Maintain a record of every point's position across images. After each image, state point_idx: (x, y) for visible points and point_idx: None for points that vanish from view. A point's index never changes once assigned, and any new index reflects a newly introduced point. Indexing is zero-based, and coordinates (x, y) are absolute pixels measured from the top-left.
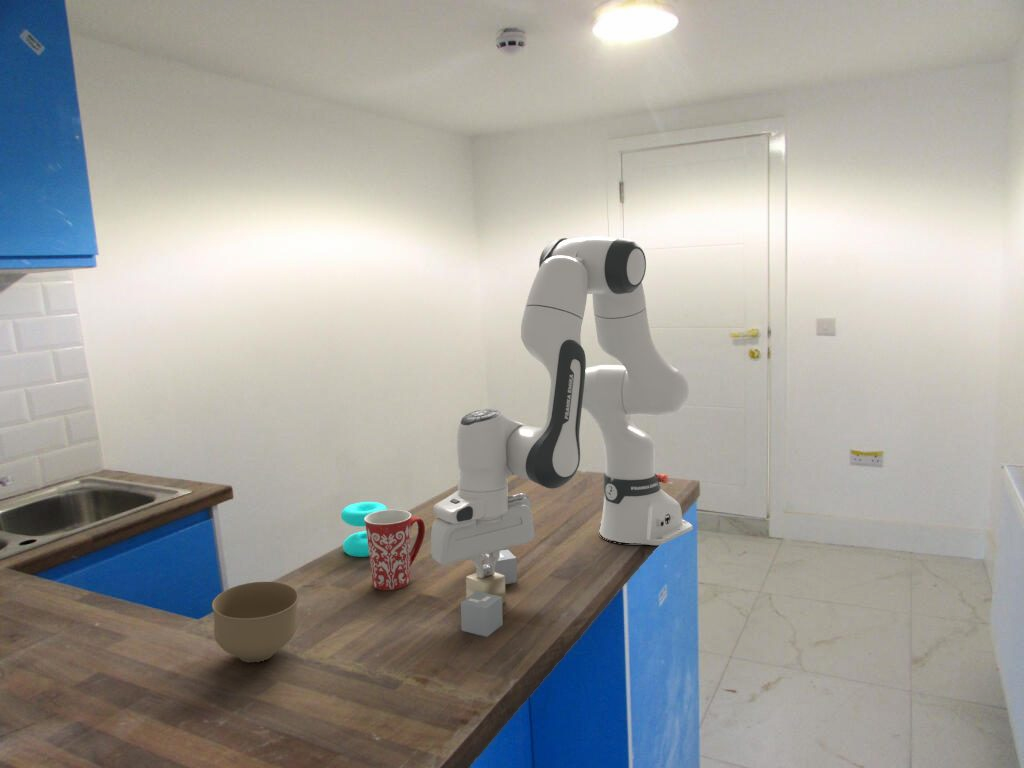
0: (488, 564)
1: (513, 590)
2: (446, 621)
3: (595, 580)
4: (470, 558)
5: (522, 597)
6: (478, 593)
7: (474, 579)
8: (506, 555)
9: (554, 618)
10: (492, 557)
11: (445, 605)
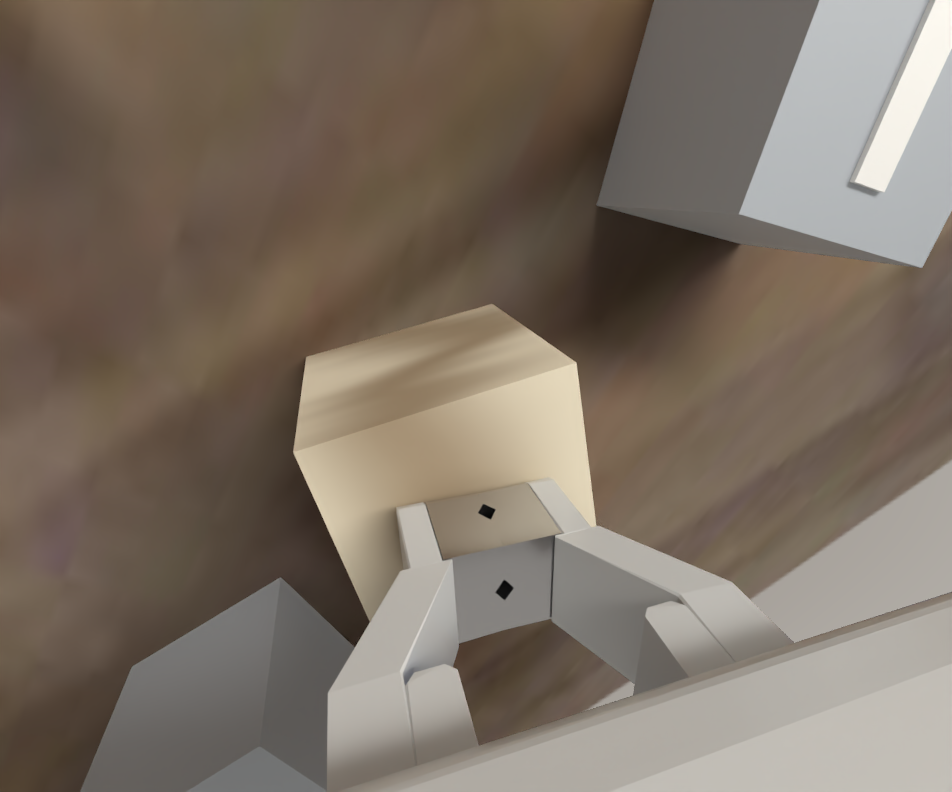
0: (557, 572)
1: (646, 343)
2: (61, 549)
3: (939, 436)
4: (330, 715)
5: (620, 448)
6: (253, 779)
7: (346, 547)
8: (930, 147)
9: (582, 667)
10: (639, 639)
11: (124, 317)
